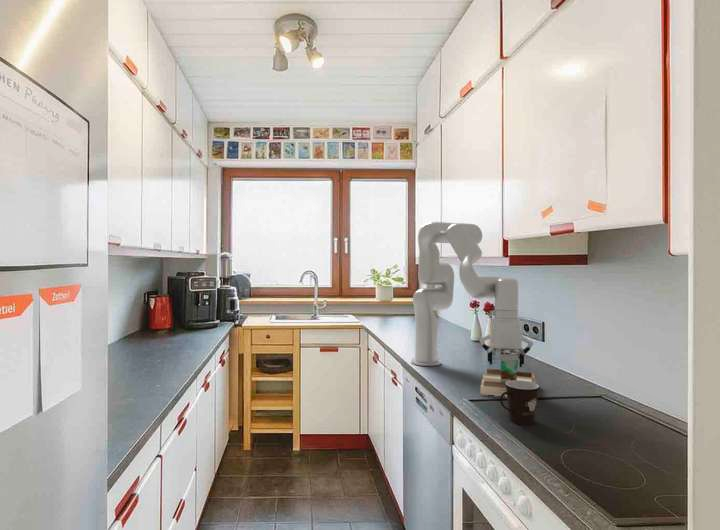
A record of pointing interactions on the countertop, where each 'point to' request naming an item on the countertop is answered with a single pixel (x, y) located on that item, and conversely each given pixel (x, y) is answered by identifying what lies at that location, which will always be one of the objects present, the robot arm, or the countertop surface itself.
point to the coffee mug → (521, 401)
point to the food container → (509, 364)
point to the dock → (493, 381)
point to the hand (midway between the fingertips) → (505, 365)
